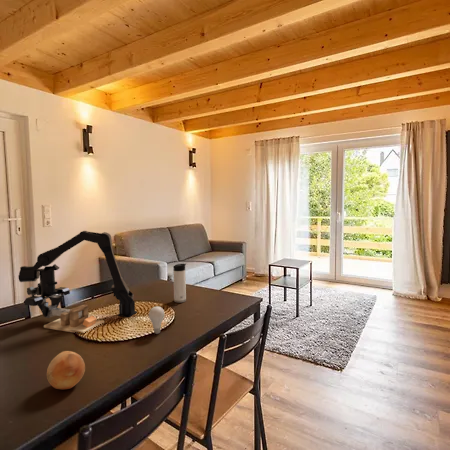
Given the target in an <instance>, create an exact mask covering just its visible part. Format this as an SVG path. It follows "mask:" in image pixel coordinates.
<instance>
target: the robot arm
mask: <svg viewBox="0 0 450 450" xmlns="http://www.w3.org/2000/svg"><path fill="white" fill-rule="evenodd" d="M84 241H87V242H90V243H95V244H97V245H98V248H99V249H100V250H101V252H102V253H103V255H104V257H105V260H106V263H107V266H108V269H109V273H110V275H111V278H112V280H113V284H111V291H112V293H113V297H115V299H116V300H118V301H119V304H118V312H119V313H118V314H117V316H118V317H119V316H120V317H127V318H129V317H132V316H133V315H136V313H138V311H137V310H136V304H135V303H136V302H135V301H136V300H134V293H133V291H132V292H131V291H130V287H128V284H127V283H126V282H125V280H124V278H123V277H122V274H121V270H120V268H119V265H118V263H117V259H116V256H115V254H114V253H115V252H114V250H113V248H114V247H113V239H112V236H111V234H110V233H109V232H105V231H104V232H93V231H87V230H82V231H80V232H79V233H78V234H76V235H75V236H73V237H71V238H70V239H68V240H66V241H65V242H63V243H62V244H60V245H58V246H56V247H54V248H51V249H49V250H46V251H44V252H42V253H40V254H38V256H37V258H36V262H35V264H34V265H28V266H27V265H22V266H21V267H19V269H20V270H19V272H18V281H19V282H20V283H29V282H36V281H37V280H38V279H39V282H38V283H37V286H36V287H34V286H29V287H27V288H26V293H27V295H28V297H26V298H25V299H24V305H25V306H28V307H29V306H32V307H36V306H37V307H38V308H39V309H40V312H41V313H42V316H43V317H44V318H47V317H46V316H47V311H48V306H49V301H47V299H49V300H50V303H51V304H55V305H57V308H59V305H60V303H61V302H62V299H63V298H64V296H66V295H70V293H71V292H70V288H69V287H65V286H64V287H62V286H61V287H60V286H59V287H57V288H56V285H58V281H56V274H55V273H56V272H55V271H58V270H59V269H60V266H58V265H57V264H56V263H54V262H55V261H56V260H57V259H59V258H60V257H61V256H62V255H63V254H64V253H65V252H67V251H69V250H71V249H72V248H74V247H75V246H78V245H79V244H80V243H82V242H84ZM53 263H54V264H53ZM51 264H53V265H51ZM42 267H43V268H42ZM62 295H64V296H62ZM51 304H50V305H51Z"/></svg>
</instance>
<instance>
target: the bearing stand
mask: <svg viewBox="0 0 450 450" xmlns="http://www.w3.org/2000/svg"><path fill="white" fill-rule="evenodd" d="M70 309H71V310H70V311H69V313H70V317H69V313H67V312H64V313H61V314H60V316H59V317H60V318H58V319H55V320H53V321H51V322H48V323H46V324H44V325H43V328H44V329H50V330H56V331H63V332H68V333H75V332H81V333H85V332H86V331H88V332H90V331H91V330H90V329H92V330H94V329H95V328H94V327H96V326H98V325H99V326H101V325H103V324H105V320H102V319H96V322H95V324H93V325H91V326H89V327H86V326H85V325H83V323H84V320H85V319H86V318H88V317H89V306H88V304H82V305H79V306H77V307H73V308H70ZM80 311H82V317H80V318H79V315H78V312H80ZM102 323H103V324H102ZM100 324H101V325H100ZM99 326H98V327H99ZM93 328H94V329H93ZM96 328H97V327H96ZM89 330H90V331H89ZM81 333H80V334H81ZM86 333H87V332H86ZM86 333H85V334H86ZM75 334H76V333H75Z"/></svg>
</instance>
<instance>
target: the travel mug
mask: <svg viewBox="0 0 450 450" xmlns="http://www.w3.org/2000/svg"><path fill="white" fill-rule="evenodd" d="M186 264H187V263H177V264H175V265H173V272H172V273H173V301H174V302H175V303H179V304H181V303H185V302H187V293H186V292H187V291H186V290H187V287H186V284H187V283H186V278H187V277H186V266H187V265H186Z"/></svg>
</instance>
